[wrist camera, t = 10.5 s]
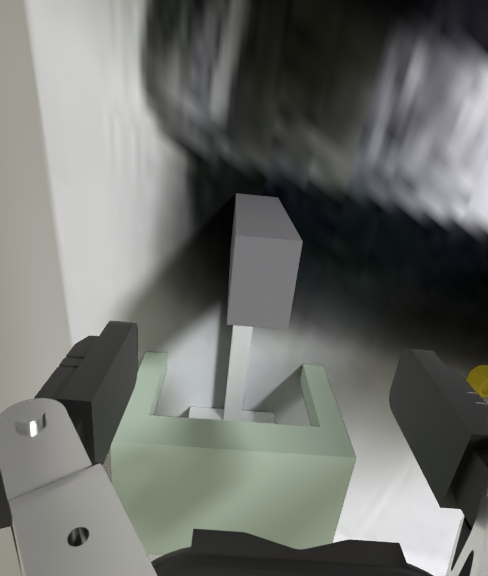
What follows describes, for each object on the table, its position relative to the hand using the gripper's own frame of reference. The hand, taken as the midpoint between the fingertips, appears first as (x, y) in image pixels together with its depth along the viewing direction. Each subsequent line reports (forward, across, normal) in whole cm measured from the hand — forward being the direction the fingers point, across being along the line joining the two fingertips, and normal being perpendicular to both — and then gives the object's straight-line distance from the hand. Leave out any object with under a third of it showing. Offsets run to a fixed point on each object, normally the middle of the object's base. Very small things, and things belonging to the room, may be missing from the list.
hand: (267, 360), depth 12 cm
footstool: (+12, 0, +12) cm, 17 cm away
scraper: (+12, 0, +5) cm, 13 cm away
